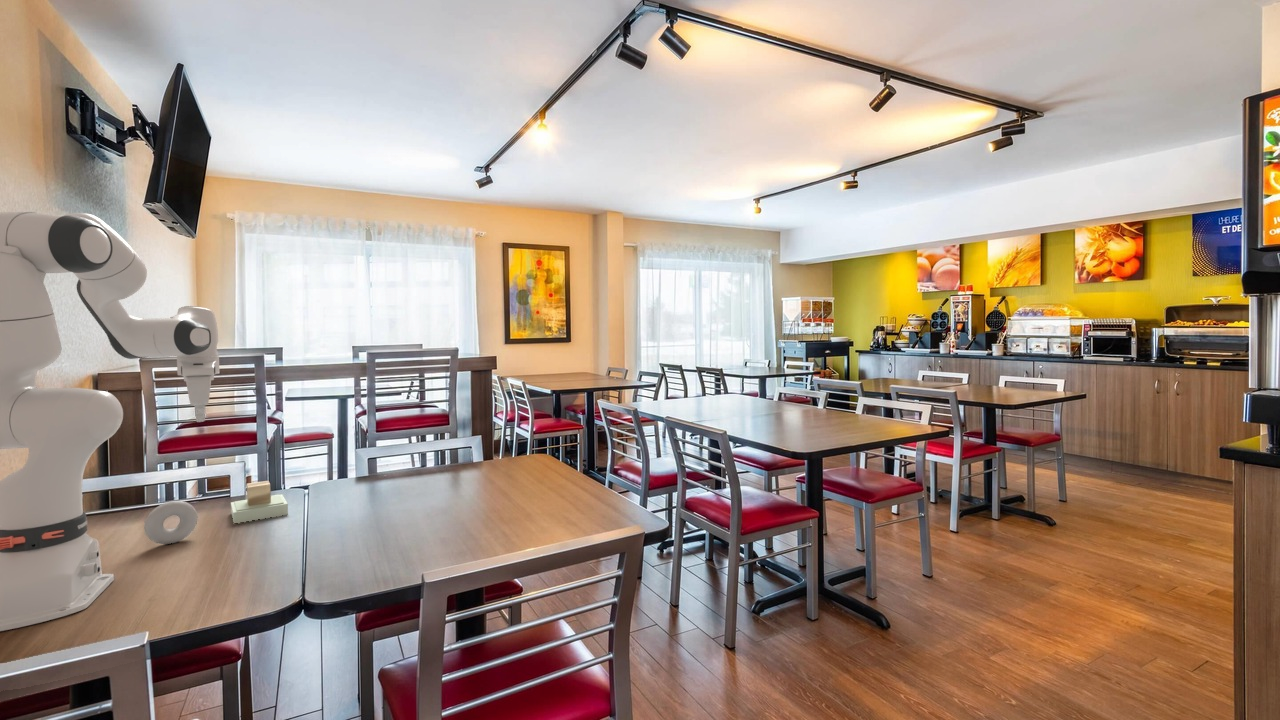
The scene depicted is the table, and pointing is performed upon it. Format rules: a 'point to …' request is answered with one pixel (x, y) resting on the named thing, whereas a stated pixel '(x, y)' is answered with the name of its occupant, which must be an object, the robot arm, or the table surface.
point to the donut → (160, 513)
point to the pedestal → (259, 509)
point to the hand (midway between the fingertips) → (200, 419)
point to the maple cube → (258, 493)
